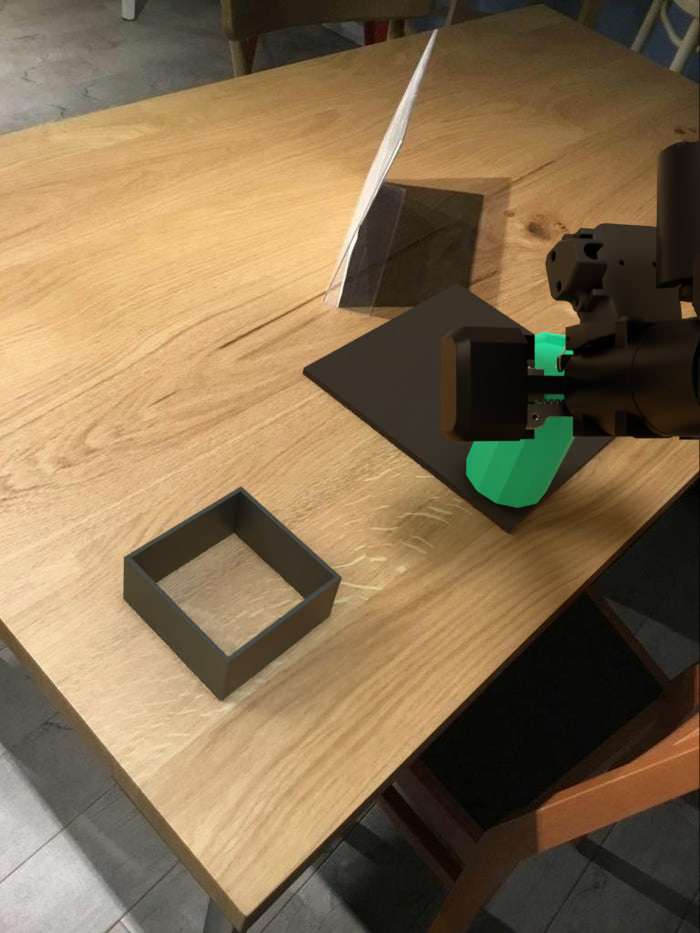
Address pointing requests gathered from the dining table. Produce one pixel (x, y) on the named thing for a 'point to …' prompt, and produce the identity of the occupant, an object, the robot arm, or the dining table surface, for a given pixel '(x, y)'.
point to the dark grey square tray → (195, 538)
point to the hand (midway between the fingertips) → (531, 393)
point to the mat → (427, 393)
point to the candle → (525, 446)
